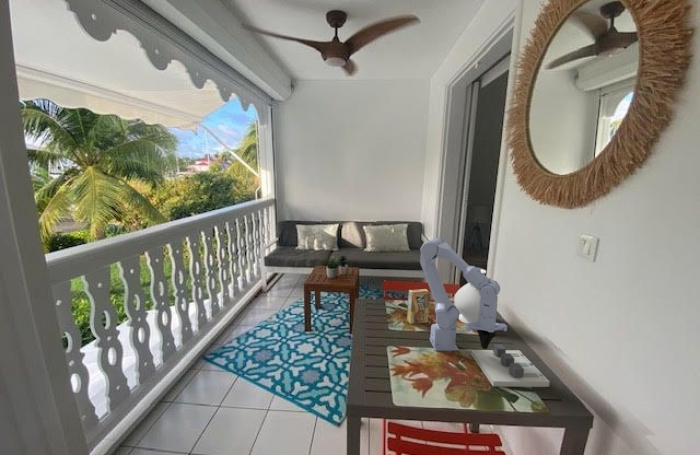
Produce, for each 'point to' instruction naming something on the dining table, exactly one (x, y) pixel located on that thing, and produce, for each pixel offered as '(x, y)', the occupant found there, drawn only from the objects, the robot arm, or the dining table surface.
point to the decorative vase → (468, 302)
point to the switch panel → (501, 373)
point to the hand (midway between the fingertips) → (484, 347)
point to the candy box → (418, 306)
